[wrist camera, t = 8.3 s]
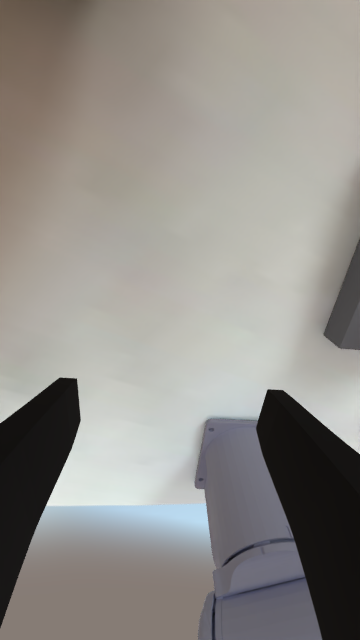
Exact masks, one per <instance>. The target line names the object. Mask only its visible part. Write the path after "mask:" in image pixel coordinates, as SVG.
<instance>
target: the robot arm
mask: <svg viewBox="0 0 360 640" xmlns="http://www.w3.org/2000/svg"><path fill="white" fill-rule="evenodd" d="M80 421H81V419H80V408H79V397H78V385H77V379H75V378H59V379H57V380H56V381H55V382H53V383H52V384H51V385H50V386H48V387H47V388H46V389H45V390H43V391H42V392H41V393H39V394H38V395H37V396H36V397H34V398H33V399H32V400H31V401H29V402H28V403H27V404H25V405H24V406H23V407H21V408H20V409H19V410H18V411H16V412H15V413H14V414H12V415H11V416H10V417H8V418H7V419H6V420H4V421H3V422H1V423H0V627H1V625H2V622H3V619H4V616H5V613H6V610H7V607H8V604H9V601H10V598H11V595H12V592H13V590H14V587H15V584H16V581H17V578H18V575H19V572H20V570H21V567H22V564H23V561H24V559H25V556H26V553H27V551H28V548H29V545H30V542H31V539H32V537H33V534H34V532H35V529H36V527H37V525H38V522H39V520H40V517H41V515H42V513H43V511H44V509H45V506H46V504H47V502H48V500H49V498H50V495H51V493H52V491H53V489H54V487H55V484H56V482H57V480H58V478H59V476H60V473H61V471H62V469H63V467H64V464H65V462H66V460H67V458H68V456H69V453H70V451H71V449H72V446H73V443H74V440H75V437H76V434H77V430H78V427H79V424H80ZM209 428H211V429H209ZM195 487H196V488H197V489H205V498H206V506H207V514H208V522H209V530H210V538H211V548H212V555H213V559H214V563H215V566H216V568H217V569H216V570H214V571H213V579H214V589H215V591H212V592H210V593H208V595H207V596H206V599H205V602H204V606H203V609H202V612H201V616H200V621H199V630H198V640H360V454H359V453H358V452H356V451H355V450H354V449H352V448H351V447H350V446H349V445H347V444H346V443H345V442H344V441H342V440H341V439H340V438H339V437H338V436H336V435H335V434H334V433H333V432H332V431H330V430H329V429H328V428H327V427H326V426H324V425H323V424H322V423H321V422H320V421H319V420H317V419H316V418H315V417H314V416H313V415H312V414H311V413H309V412H308V411H307V410H306V409H305V408H304V407H302V406H301V405H300V404H299V403H298V402H297V401H295V400H294V399H293V398H292V397H291V396H290V395H288V394H287V393H286V392H284V391H283V390H269V389H268V390H267V393H266V396H265V400H264V403H263V406H262V410H261V413H260V416H259V419H258V421H248V420H226V419H209V420H207V421H206V425H205V430H204V436H203V441H202V446H201V451H200V457H199V462H198V467H197V472H196V478H195Z"/></svg>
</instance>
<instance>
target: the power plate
mask: <svg viewBox="0 0 360 640" xmlns="http://www.w3.org/2000/svg"><path fill="white" fill-rule="evenodd" d="M324 336H325V337H326V338H328V339H329V340H330V341H331V342H332V343H334V344H335V345H336V346H337V347H338V348H341V349H355V350H360V240H359V243H358V246H357V248H356V251H355V253H354V256H353V259H352V261H351V264H350V267H349V269H348V272H347V275H346V277H345V280H344V282H343V285H342V288H341V290H340V293H339V296H338V298H337V301H336V304H335V306H334V309H333V311H332V314H331V317H330V319H329V322H328V325H327V327H326V330H325V333H324Z"/></svg>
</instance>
